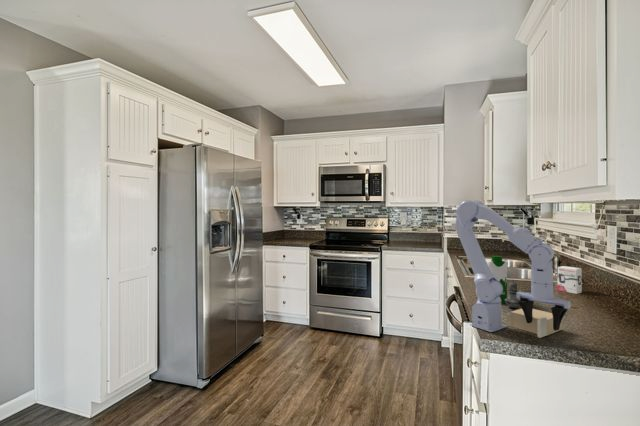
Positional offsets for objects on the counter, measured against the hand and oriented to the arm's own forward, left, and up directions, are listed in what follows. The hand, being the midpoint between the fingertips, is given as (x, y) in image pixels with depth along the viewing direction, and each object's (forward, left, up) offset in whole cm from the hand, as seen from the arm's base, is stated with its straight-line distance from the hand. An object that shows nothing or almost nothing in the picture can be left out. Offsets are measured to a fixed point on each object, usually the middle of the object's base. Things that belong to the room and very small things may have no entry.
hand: (542, 326), depth 102 cm
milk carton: (+28, +32, -4) cm, 43 cm away
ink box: (+74, +22, -4) cm, 77 cm away
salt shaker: (+22, +21, -4) cm, 31 cm away
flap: (+5, 0, -3) cm, 6 cm away
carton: (+7, +6, -4) cm, 10 cm away
